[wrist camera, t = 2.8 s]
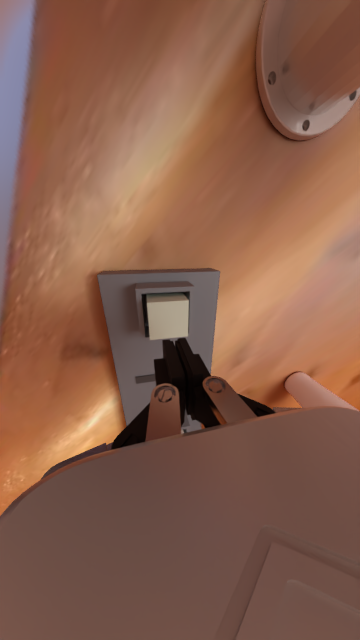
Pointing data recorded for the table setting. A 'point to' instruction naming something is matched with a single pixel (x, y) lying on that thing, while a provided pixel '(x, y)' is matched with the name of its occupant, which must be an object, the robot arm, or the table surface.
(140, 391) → the panel
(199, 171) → the table surface
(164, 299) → the button sage
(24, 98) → the table surface
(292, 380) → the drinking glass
